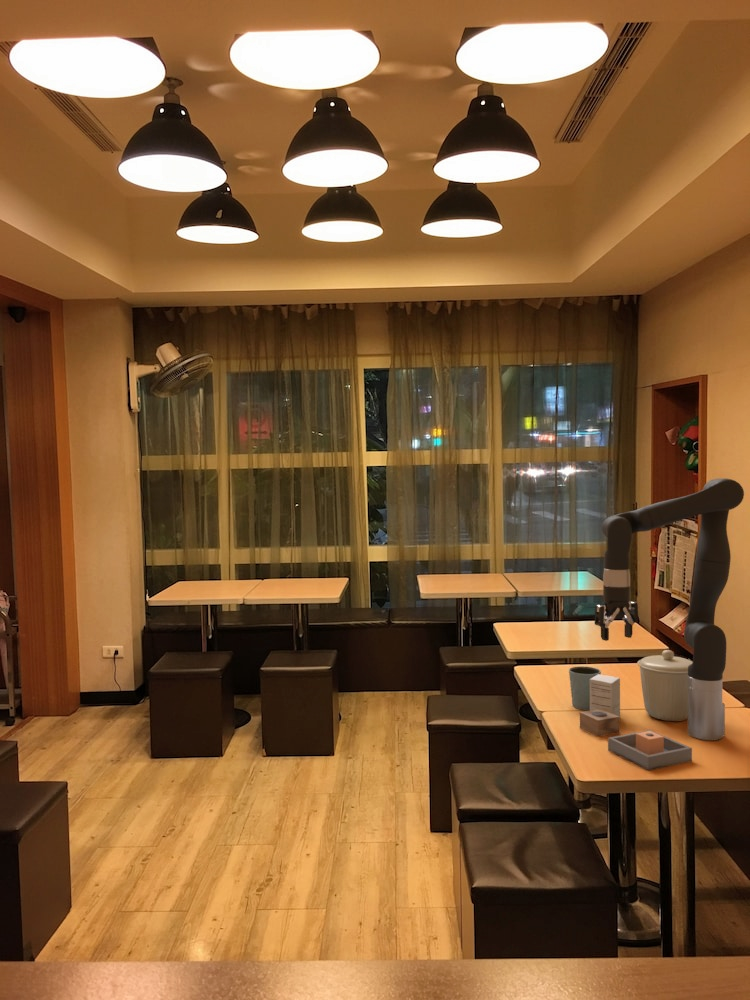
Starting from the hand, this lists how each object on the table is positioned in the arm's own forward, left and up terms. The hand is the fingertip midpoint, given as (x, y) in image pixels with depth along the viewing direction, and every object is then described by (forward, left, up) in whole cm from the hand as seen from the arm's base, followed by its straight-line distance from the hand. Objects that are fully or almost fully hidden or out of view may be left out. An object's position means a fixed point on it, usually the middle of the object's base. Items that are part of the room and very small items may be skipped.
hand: (616, 638), depth 208 cm
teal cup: (-8, -24, -28) cm, 38 cm away
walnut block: (+3, -4, -28) cm, 29 cm away
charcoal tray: (+4, +17, -28) cm, 33 cm away
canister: (-25, -5, -28) cm, 38 cm away
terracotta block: (+4, +17, -28) cm, 33 cm away
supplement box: (-6, -12, -28) cm, 31 cm away
